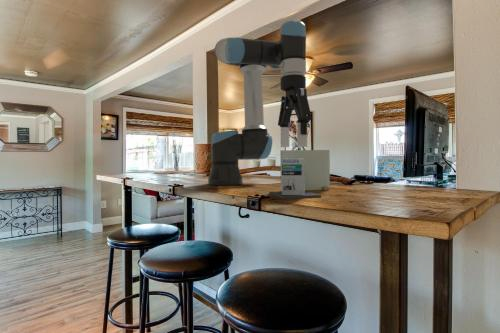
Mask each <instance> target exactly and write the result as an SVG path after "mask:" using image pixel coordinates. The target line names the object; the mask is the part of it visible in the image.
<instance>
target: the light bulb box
mask: <svg viewBox="0 0 500 333" xmlns="http://www.w3.org/2000/svg"><path fill="white" fill-rule="evenodd" d="M281 161H282V195H305V191H306V190H305V173H304V159H300V158H284V159H281V160H280V162H281Z"/></svg>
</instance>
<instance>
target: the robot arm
mask: <svg viewBox="0 0 500 333" xmlns="http://www.w3.org/2000/svg"><path fill="white" fill-rule="evenodd" d="M306 29H307V28H306V24H305V23H304V22H303V21H300V20H287V21H285V22H283V23H282V24H281V25H280V33H279V35H280V38H279V39H278V40H277V41H274V40H263V39H255V38H254V39H252V38H242V37H236V36H235V37H225V38H222V39H220V40H219V41H218V42H216V44H215V46H214V55H215V57H216V58H217V60H218V61H219V62H221V63H223V64H225V65H228V66H236V67H239V72H240V73H241V74H243V99H244V100H243V102H244V103H243V104H244V106H243V107H244V127H243V128H242V129H241V133H239V131H238V130H237V129H235V130H234V129H233V130H223V131H219V132H215V133H213V134H212V135H211V144H210V146H211V168H210V172H209V175H208V178H207V183H208V185H210V186H236V185H242V184H243V175H242V173H241V171H240V170H241V169H240V167H239V160H240V161H242V160H245V161H247V160H256V161H260V160H266V159H267V158H268V157H269V156H270V154H271V152H272V148H273V136H272V134H271V133H269V132H268V128H267V127H266V126H265V124H264V122H265V121H264V120H265V118H264V91H263V88H264V87H263V73H265V71H266V68H271V69H272V70H273V69H274V70H280V76H281V77H280V90H281V91H282V92H285V95H282V96H281V99H280V109H279V113H278V114H279V115H278V122H277V125H278V127H280V148H290V127H291V126H290V120H291V117H292V113H293V111H294V112H295V115H296V118H297V120H296V123H297V128H296V129H297V130H296V133H297V136H296V137H297V138H296V139H297V140H296V141H297V147H299V148H300V147H301V148H304V147H306V148H308V123H309V122H310V121H311V120H312V118H313V117H312V113H311V108H310V104H309V100H308V95H307V94H308V93H307V88H306V84H307V82H306V81H307V80H306V74H307V59H306V55H307V50H306V49H307V34H306V32H307V31H306Z"/></svg>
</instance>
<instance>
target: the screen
mask: <svg viewBox="0 0 500 333" xmlns="http://www.w3.org/2000/svg"><path fill="white" fill-rule="evenodd" d="M279 155H280V156H279V157H280V191H282V161H281V159H284V158H300V159H304V173H305V191H320V190H321V191H330V189H331V188H330V186H331V185H330V184H331V182H330V181H331V178H330V177H331V175H330V174H331V172H330V169H331V168H330V163H331V162H330V157H331V156H330V155H331V154H330V149H301V150H300V149H296V150H295V149H294V150H293V149H289V150H286V149H285V150H283V149H282V150H281V149H280V154H279Z"/></svg>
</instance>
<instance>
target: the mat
mask: <svg viewBox="0 0 500 333" xmlns="http://www.w3.org/2000/svg"><path fill="white" fill-rule="evenodd" d="M268 194H269V195H271V196H273V197H276V198H279V199H281V200H290V199H291V200H292V199H309V198H311V199H314V198H322V194H319V193H315V192H311V191H309V190H305V195H282V191H281V190H280V191H269V192H268Z"/></svg>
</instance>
